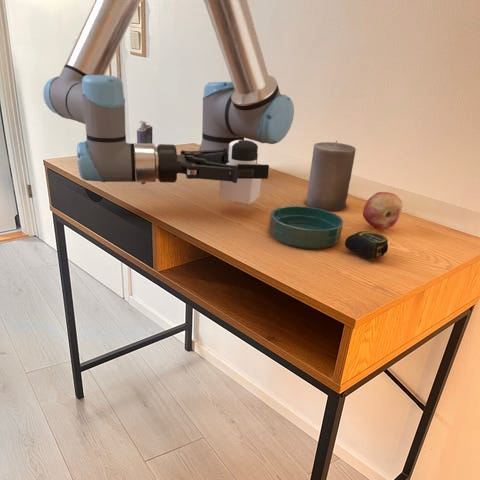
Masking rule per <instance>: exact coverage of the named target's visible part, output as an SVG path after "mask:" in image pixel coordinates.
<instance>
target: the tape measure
mask: <svg viewBox="0 0 480 480" xmlns="http://www.w3.org/2000/svg"><path fill="white" fill-rule="evenodd" d="M388 243H389V241H388V238H387V237H386V236H385V235H383V234H381V233H378V232H375V231H369V230H368V231H367V230H361V231H356V232H354V233H353V234H350V235H348V236H347V237H346V238H345V241H344V247H345V248H346V249H347V250H348V251H350V252H353V254H356V255H358V256H359V257H361V258H362V257H363V258H364V259H367V260H369V261H372V260H375V259H379V258H380V259H381V258H382V257H384V256H385V254H386V253H388V250H389V244H388Z"/></svg>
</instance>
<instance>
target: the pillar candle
mask: <svg viewBox="0 0 480 480" xmlns="http://www.w3.org/2000/svg"><path fill="white" fill-rule="evenodd" d="M356 149H357V148H356V146H353V145H351V144H345V143H341V142H338V140H335V142H332V141H331V142H330V141H329V142H328V141H326V142H325V141H323V142H316V143H314V144H313V150H312V157H311V165H310V172H309V179H308V186H307V192H306V201H305V202H306V205H307V206H308V207H314V208H319V209H323V210H327V211H329V212H333V211H334V212H336V211H342V210H345V208H347V206H346V205H347V199H348V196H349V195H348V194H349V189H350V182H351V178H352V171H353V167H354V161H355V157H356Z"/></svg>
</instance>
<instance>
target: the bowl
mask: <svg viewBox="0 0 480 480" xmlns="http://www.w3.org/2000/svg"><path fill="white" fill-rule="evenodd" d="M343 225H344V220H343V219H342V217H341V216H339V215H337V214H336V213H334V212H333V211H330V210H323V209H319V208H314V207H311V206H308V205H307V206H306V205H305V206H304V205H287V206H281V207H277V208H274V209H272V211H271V212H270V214H269V222H268V233H269V235H270V236H271V237H273V238H274V240H276V241H278V242H279V243H281V244H283V245H286V246H289V247H294V248H297V249H306V250H319V249H327V248H329V247H330V248H331V247H332V246H333V245H334V246H335V245H336V244H337V243H339V242H340V240H341V237H342V232H343V227H344V226H343Z"/></svg>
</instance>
